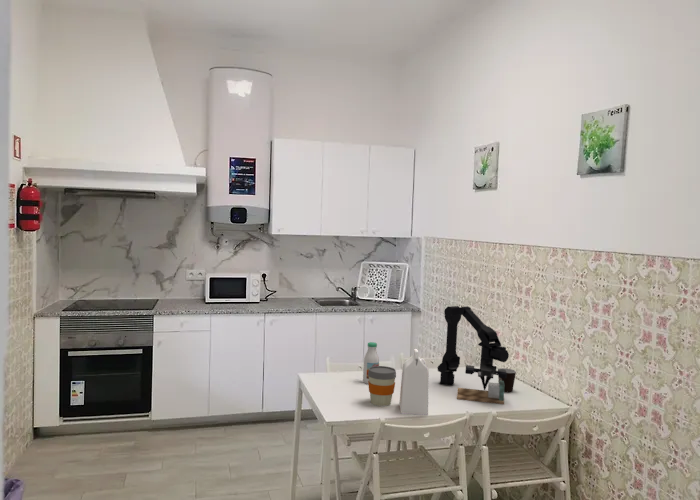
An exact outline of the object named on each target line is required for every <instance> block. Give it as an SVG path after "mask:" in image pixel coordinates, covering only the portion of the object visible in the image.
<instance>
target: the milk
mask: <svg viewBox="0 0 700 500" xmlns="http://www.w3.org/2000/svg"><path fill="white" fill-rule="evenodd" d="M401 369H402V371H401V379H400V380H401V382H400V391H399V392H400V393H399V401H398V402H399V410H400V414H404V415H405V414H406V415H422V416H423V415H424V416H425V415H426V416H428V415H429V387H430V386H429V385H430V381H429V379H430V378H429V377H430V375H429V368H428V365H427V361H426V360H425V359H424V358H423V357H420V356H419V349H417V348H414V349H413V354H412V355H411V356H410V357H408V359H406V360H405V361H404V362H403V363H402V367H401Z"/></svg>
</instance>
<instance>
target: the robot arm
mask: <svg viewBox="0 0 700 500" xmlns="http://www.w3.org/2000/svg"><path fill="white" fill-rule="evenodd" d="M462 316H463V317H464V319H465V320H466V321H467V322H468V323H469V324H470V325H471V327H473V329H474V330H475V331H476V334H477V337H478V339H479V340H480V341H481V342H479V343H477V346H479V347H481V349H480V350H481V352H480V363H479V368H476V367H475V365H470V364H469V365H468V364H467V365H466V366H465V372H464V373H465V374H467V375H473V374H474V373H477V377H478V378H480V380H481V384H482V387H483V390H486V389H487V388H488V382H490V381H491V379H494V376H499V378H507V371H506V370H504V369H500V368H497V366H495V365H494V361H498V362H501V363H506V362H507V361H508V359H509V358H510V357H509V355H510V354H509V352H508V350H507V347H506V346H502V343H501V341H500V339H499V337H498V333H497V332H496V331H495V329H493V328H492V327H490V326H487V325H486V324H485V323H484V322H483V321H482V320H481V319H480V317H478V316H477V315H476V313H475V312H474V311H473V310H472V308H471V307H470V306H468V305H467V306H461V307H460V306H459V305H454V306H453V305H452V306H446V307H445V308H444V319H445V322H446V324H447V326H446V327H447V329H446V344H445V345H446V347H445V353H444V354H443V356H442V359H441V360H442V361H441V363H440V364H438V365H437V372H439V373H440V379H439V385H442V386H443V385H444V386H454V384H455V374H454V373H455V372H457V370H458V368H459V367H460V364H461V363H460V362H461V361H460V360H461V356H458V353H457V340H458V339H457V337H458V325H459V323H460V321H461V320H462Z"/></svg>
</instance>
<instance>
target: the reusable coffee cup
mask: <svg viewBox="0 0 700 500" xmlns="http://www.w3.org/2000/svg"><path fill="white" fill-rule="evenodd" d="M368 376H369V381H368V384H367V385H368V392H369V395H370V396H369V397H370V403H371V405H373V406H378V407H387V406H390V405H391V404H392V398H393V394H394V393H395V392H394V391H395V387H396V382H395V381H396V378H397V370H396V369H395V368H394V367H390V366H385V365H379V366H374V367H370V368H369V371H368Z"/></svg>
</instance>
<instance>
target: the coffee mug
mask: <svg viewBox="0 0 700 500" xmlns="http://www.w3.org/2000/svg"><path fill="white" fill-rule="evenodd" d="M499 369H504V370H506V371H507V378H499V376H498V375H497V376H498V382H499V381H504V385H505V387H504V393H513V390H514V386H515V379H516V374H517V370H515V369H512V368H507V367H506V368H502V367H501V368H499Z"/></svg>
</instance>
